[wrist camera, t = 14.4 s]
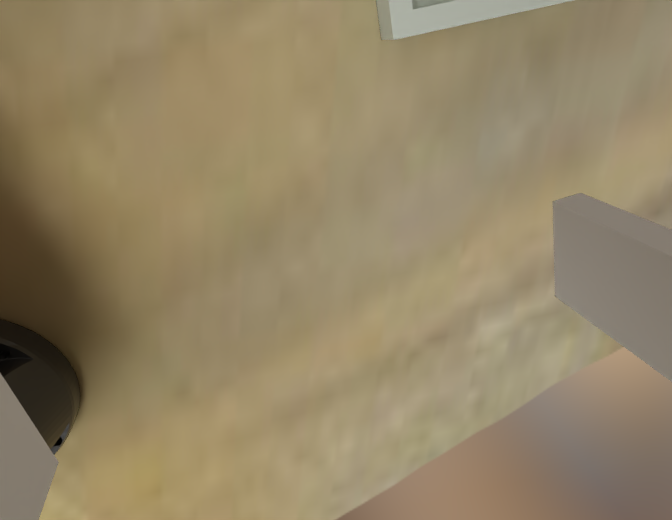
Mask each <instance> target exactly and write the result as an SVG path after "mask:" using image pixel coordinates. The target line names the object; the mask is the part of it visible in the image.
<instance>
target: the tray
mask: <svg viewBox="0 0 672 520" xmlns="http://www.w3.org/2000/svg"><path fill="white" fill-rule="evenodd" d="M569 1H573V0H376V4H377V11H378V19H379V26H380V33H381V40H396V39H400V38H405V37H410V36H414V35H419V34H423V33H428V32H432V31H437V30H441V29H446V28H450V27H455V26H460V25H464V24H469V23H473V22H478V21H482V20H487V19H491V18H496V17H500V16H505V15H510V14H514V13H519V12H523V11H528V10H532V9H537V8H541V7H546V6H550V5H555V4H560V3H564V2H569Z"/></svg>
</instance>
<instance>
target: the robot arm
mask: <svg viewBox="0 0 672 520" xmlns="http://www.w3.org/2000/svg"><path fill="white" fill-rule="evenodd" d="M553 234H554V276H555V297H557V298H558V299H559V300H561V301H562V302H563V303H565V304H566V305H568V306H569V307H570V308H572V309H573V310H574V311H576V312H577V313H578V314H580V315H581V316H583V317H584V318H585V319H587V320H588V321H589V322H591V323H592V324H593V325H595V326H596V327H598V328H599V329H600V330H602V331H603V332H604V333H606V334H607V335H609V336H610V337H611V338H613V339H614V340H615V341H617V342H618V343H619V344H621V345H622V346H624V347H625V348H626V349H628V350H629V351H631V352H632V353H633V354H634V355H636V356H637V357H639V358H640V359H641V360H643V361H644V362H645V363H647V364H648V365H650V366H651V367H652V368H654V369H655V370H656V371H658V372H659V373H661V374H662V375H663V376H665V377H666V378H667V379H669V380H670V381H672V230H671V229H669V228H666V227H664V226H661V225H659V224H656V223H654V222H651V221H649V220H646V219H644V218H641V217H639V216H637V215H634V214H632V213H629V212H627V211H624V210H622V209H619V208H617V207H614V206H612V205H609V204H607V203H605V202H602V201H600V200H597V199H595V198H592V197H590V196H587V195H585V194H582V193H578V194H575V195H572V196H569V197H565V198H562V199H559V200H556V201H553ZM79 405H80V388H79V383H78V380H77V377H76V374H75V372H74V370H73V368H72V367H71V365H70V363H69V362H68V361H67V359H66V358H65V357H64V356H63V354H62V353H61V352H60V351H59V350H58V349H57V348H56V347H54V346H53V345H52V344H51V343H50V342H48V341H47V340H45V339H44V338H43V337H41V336H39V335H38V334H36V333H34V332H32V331H30V330H28V329H26V328H24V327H22V326H19V325H16V324H14V323H10V322H7V321H4V320H0V520H39V517H40V514H41V511H42V508H43V505H44V502H45V500H46V497H47V494H48V491H49V488H50V485H51V482H52V479H53V477H54V474H55V471H56V468H57V465H58V460H57V459H56V457H55V456H54V454H55V453H56V452H57V451H58V450H59V449H60V447H61V446H62V445H63V443H64V442H65V440H66V439H67V437H68V435H69V433H70V431H71V428H72V426H73V423H74V421H75V418H76V416H77V413H78V410H79Z"/></svg>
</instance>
